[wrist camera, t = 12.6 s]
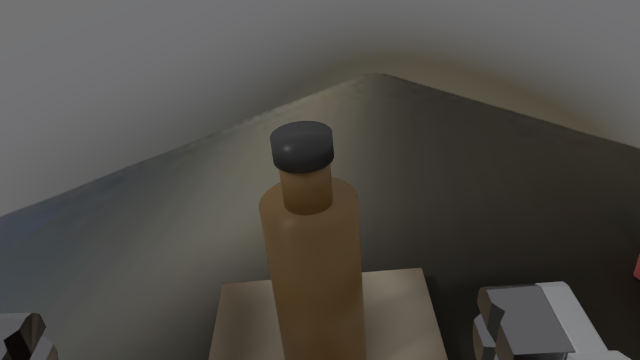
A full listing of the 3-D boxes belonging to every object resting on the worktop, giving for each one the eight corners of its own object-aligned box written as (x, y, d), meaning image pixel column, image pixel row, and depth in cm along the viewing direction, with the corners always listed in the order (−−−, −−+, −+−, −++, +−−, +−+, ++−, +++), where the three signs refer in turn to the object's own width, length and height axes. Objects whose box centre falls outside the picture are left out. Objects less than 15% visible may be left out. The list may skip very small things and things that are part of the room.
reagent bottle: (283, 393, 30) (243, 165, 22) (286, 327, 34) (252, 116, 27) (370, 386, 30) (358, 156, 22) (362, 321, 34) (350, 108, 26)
